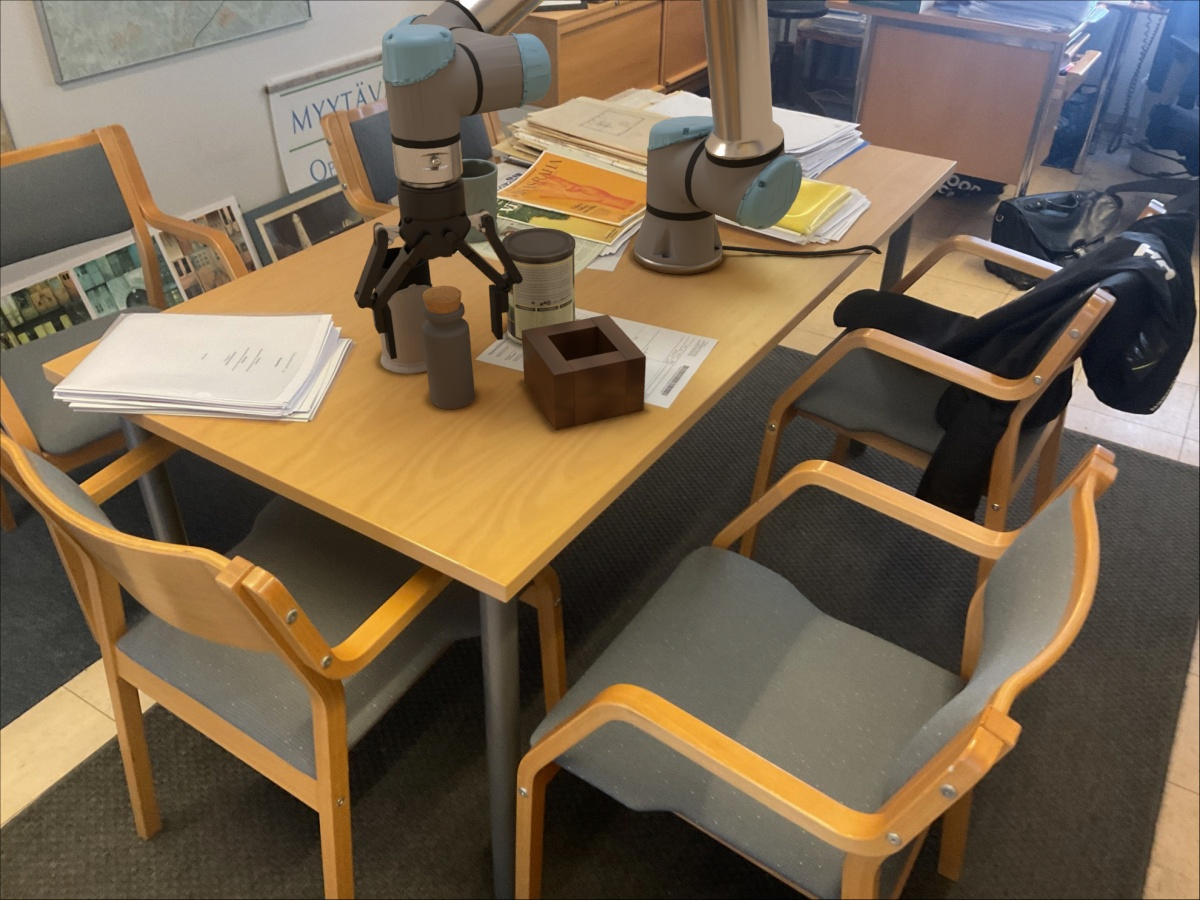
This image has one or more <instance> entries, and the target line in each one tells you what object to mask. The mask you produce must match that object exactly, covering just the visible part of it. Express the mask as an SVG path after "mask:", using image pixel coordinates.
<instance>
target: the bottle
mask: <svg viewBox="0 0 1200 900" xmlns="http://www.w3.org/2000/svg"><path fill="white" fill-rule="evenodd" d="M422 297H423V300H424V303H425V305H424V306H423V316H424V318H425V319H426V320H427V321H426V322H425V323H424V324H423V326H422V335H423V344H424V352H425V360H426V369H427V371H426V375H427V376H426V377H427V384H428V393H429V399H430V402H431V403H432V404H433V405H434V406H435V407H437V408H439V409H443V410H457V409H462V408H464V407H467V406H468V405H470V404H471V403H472V402H473V401H474V400H475V397H476V395H475V379H474V368H473V367H474V366H473V356H472V354H473V353H472V344H471V343H472V342H471V334H470V333H471V332H470V325H469V322H468V321H467V320H466V319H465V318H463V317H464V315H465V312H466V309H465V305H464V303H463V302H462V301H461V300H462V291H461V290H460V289H459V288H457V287H455V286H452V285H436V286H433V287H432V288H429V289H427V290H426V291H425V292H424V293H423V295H422Z"/></svg>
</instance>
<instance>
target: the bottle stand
mask: <svg viewBox="0 0 1200 900" xmlns="http://www.w3.org/2000/svg"><path fill="white" fill-rule="evenodd" d="M521 346H522V347H521V348H522V368H523V383H524V385H525V387H526V388H527V389H528V391H529V393H530V394H531V395H532V397H533V398H534V400H535V401H536V403H537V405H538V406H539V407H540V409H541V411H542V412H543V413H544V415H545V416H546V418H547V419H548V421H549V422H550V424H551V425H552V428H553V429H554V430H555V431H556V430H561V429H566V428H570V427H574V426H578V425H583V424H588V423H593V422H596V421H601V420H606V419H610V418H614V417H619V416H623V415H629V414H632V413H633V414H634V413H637V412H642V411H644V410H645V391H646V389H645V387H646V370H647V369H646V367H647V366H646V365H647V356H646V354H644V352H643V351H642V350H641V349H640V348H639V347H638V346H637V344H636V343H634V341H633V340H632V339H631V338H630V337H629V336H628V335H627V334H626V332H624V330H623V329H622V328H621V327H620V326H619V325H618V323H616V321H615V320H614V319H613V318H612V317H611V316H610V315H609V314H601V315H597V316H591V317H586V318H581V319H575V321H570V322H564V323H559V324H554V325H548V326H543V327H537V328H531V329H526V330H522V345H521Z"/></svg>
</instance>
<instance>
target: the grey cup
mask: <svg viewBox="0 0 1200 900" xmlns="http://www.w3.org/2000/svg"><path fill="white" fill-rule="evenodd" d="M462 165H463V173H462V174H461V175H460V177H461V178H462V179H463V180H464V190H465V204H466V214H467V216H471V215H475V214H478V212H479V211H480V210H481V209H486V210H487V211H488V212H489V214H490V215H491V216H492V217H493V219H494V224H495V230H496V234H497V235H498V221H497V220H498V172H499V171H498V170H499V168H498V165H497V164H496V163H495V162H492V161H490V160H486V159H479V158H462ZM464 240H465V241H466V242H467V243H479V242H480V243H481V242H485V241H487V239H486V237H485V236H484V234H483V233H480V232H478V231H477V229H476V228H475V227H471V229H470V231H469V232H468V234H467V236H466V237H465V239H464Z"/></svg>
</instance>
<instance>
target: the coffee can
mask: <svg viewBox="0 0 1200 900" xmlns="http://www.w3.org/2000/svg"><path fill="white" fill-rule="evenodd" d="M501 242H502V244H503V245H504V247H505V249H506V250H507V252H508V254H509V255H510V257H511V259H512V260H513V262H514V264H515V266H516V267H517V269H518V271H519V272H520V274H521V276H522V278H523V280H522V282H521V283H520V284H516V283H515V284H514V285H512V286H511V291H510V292H509V293H508V296H509V310H508V312H506V324H507V329H506V330H507V331H506V332H507V336H508V337H509V339H510V340H511V341H513V342H514V343H516V344H518V345H521V346H522V330H526V329H531V328H537V327H543V326H548V325H554V324H559V323H564V322H570V321H575V320H576V266H575V265H576V264H575V262H576V261H575V257H576V256H575V255H576V254H575V251H576V244H577V243H576V239H575V237H574V236H573V235H572V234H570V233H569V232H566V231H564V230H560V229H557V228H551V227H550V228H549V227H531V228H525V229H519V230H516V231H512V232H511V233H509V234H507V235H506V236H505V237H504V238H503V239H502V240H501ZM504 273H506V270H505V269H504V268H503V274H504Z"/></svg>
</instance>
